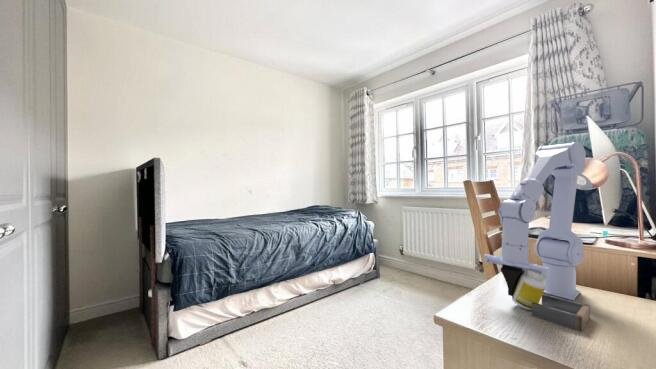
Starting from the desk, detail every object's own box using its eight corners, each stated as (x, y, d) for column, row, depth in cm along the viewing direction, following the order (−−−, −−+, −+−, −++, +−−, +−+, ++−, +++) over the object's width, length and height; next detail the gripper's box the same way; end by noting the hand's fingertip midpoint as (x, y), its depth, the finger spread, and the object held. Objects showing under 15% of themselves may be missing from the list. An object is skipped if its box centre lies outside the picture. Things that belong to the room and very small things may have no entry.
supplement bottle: (540, 313, 67) (555, 279, 65) (518, 308, 68) (532, 274, 65) (527, 299, 72) (540, 267, 70) (507, 295, 73) (519, 263, 70)
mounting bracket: (542, 304, 71) (542, 293, 71) (589, 318, 64) (589, 305, 64) (531, 315, 65) (531, 303, 65) (581, 331, 58) (581, 317, 58)
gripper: (479, 240, 75) (477, 288, 75) (543, 251, 63) (541, 309, 63) (490, 238, 79) (488, 284, 79) (552, 249, 68) (550, 302, 67)
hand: (512, 295), depth 71 cm, fingers closed, pressing on supplement bottle
